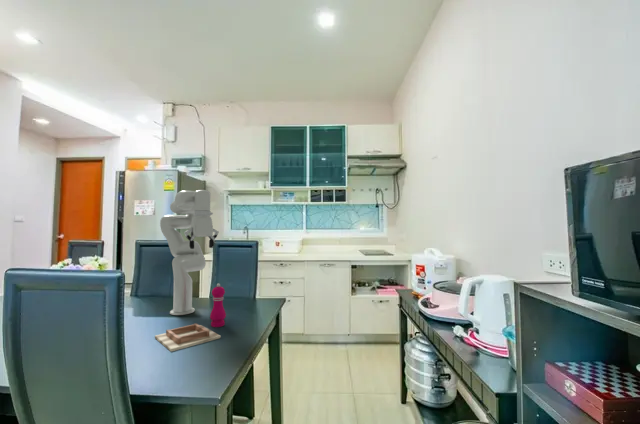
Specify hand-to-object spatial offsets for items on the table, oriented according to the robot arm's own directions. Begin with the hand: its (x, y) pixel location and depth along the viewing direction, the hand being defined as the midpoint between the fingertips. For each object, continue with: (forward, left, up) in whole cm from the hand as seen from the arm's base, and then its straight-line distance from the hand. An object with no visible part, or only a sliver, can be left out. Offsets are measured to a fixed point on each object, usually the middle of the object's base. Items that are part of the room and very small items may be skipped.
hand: (201, 248), depth 153 cm
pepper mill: (+11, +4, -37) cm, 39 cm away
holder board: (+18, -13, -37) cm, 43 cm away
